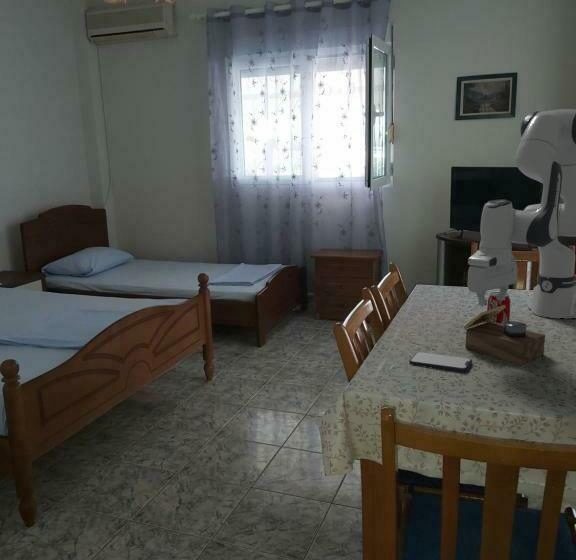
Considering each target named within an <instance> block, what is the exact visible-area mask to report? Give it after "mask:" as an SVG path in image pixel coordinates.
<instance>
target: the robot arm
mask: <svg viewBox="0 0 576 560" xmlns="http://www.w3.org/2000/svg"><path fill="white" fill-rule="evenodd" d="M520 136H521V139H520V140H519V144H518V147H517V150H516V153H515V157H514V158H515V159H514V161H515V162H514V163H515V164H516V167H517V168H518V170H519V171H520V172H521V173H522V174H523V175H524V176H526V177H528V178H529V179H531V180H535V181H536V182H539V183H541V184H542V185H543V186H542V188H543V189H542V194H541V201H540V203H537V204H529V205H527V206H526V207H525V208H524V209H523V210H521V209H515V208H514V207H513V203H512V201H510V200H508V199H494V200H493V199H492V200H488V202H486V203H484V205H483V208H482V212H481V217H480V225H479V227H480V231H479V232H480V233H479V234H480V238H481V239H480V243H479V247H478V250H477V251H476V252H474V253H473V254H472V255H471V256H470V257H468V259H467V260H468V261H467V264H468V265H470V266H469V267H468V271H467V272H468V273H467V289H468V290H469V292H471V293H476V296H477V299H478V305H479V306H481V307H485V306H487V305H488V299H486V297H485V295H486V294H487V292H489V291H492V290H496V289H499V288H500V289H499V291H498V292H499V294H497V299H498V300H501V301H502V300H505V295H506V293H507V292H508V290H509V288H510V287H509V286H511V285H514V284H516V283H517V280H518V264H517V260H516V256H515V254H513V253H512V247H513V246H512V243H514V244H522V245H529V246H533V247H537V248H538V251H539V270H538V272H539V273H537V277H536V280H537V281H536V283H537V285H536V286H534V287H533V290H532V298H531V302H530V303H531V304H528V306H527V309H528V308H529V309H528V310H530V309H531V310H530V311H531V313H532V314H534V315H536V316H539V317H544V318H548V317H549V318H550V319H560V318H564V319H572V318H576V274H575V263H576V254H575V253H574V251H573V250H572V249H571V248H569V247H568V246H566V245H565V244H562V243H561V242H560V241H559V240H558V237H575V238H576V109H571V108H569V109H568V108H557V109H553V110H545V111H533V112H529V113H528V114H527V115H526V116H525V117H523V119H522V121H521V124H520ZM561 199H562V200H563V203H560V201H561ZM507 294H508V293H507ZM549 318H548V319H549Z"/></svg>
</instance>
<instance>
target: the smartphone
mask: <svg viewBox="0 0 576 560" xmlns="http://www.w3.org/2000/svg"><path fill="white" fill-rule="evenodd" d="M408 362H409V363H408V364H410V365H411V364H414V365H413V366H416V365H420V366H419V367H423V366H426V367H425V368H429V367H432V368H431V369H435V368H437V370H442V369H444V371H449V372H456V373H461V374H462V373H463V374H465V373H467V372H468V371H469V370H470V368H471V366H472V365H473V360H472V358H469V357H461V356H452V355H445V354H437V353H429V352H422V351H420V352H419V351H418V352H415V353H414V355H413V356H412V357H411V358H410V359H409V361H408Z"/></svg>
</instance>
